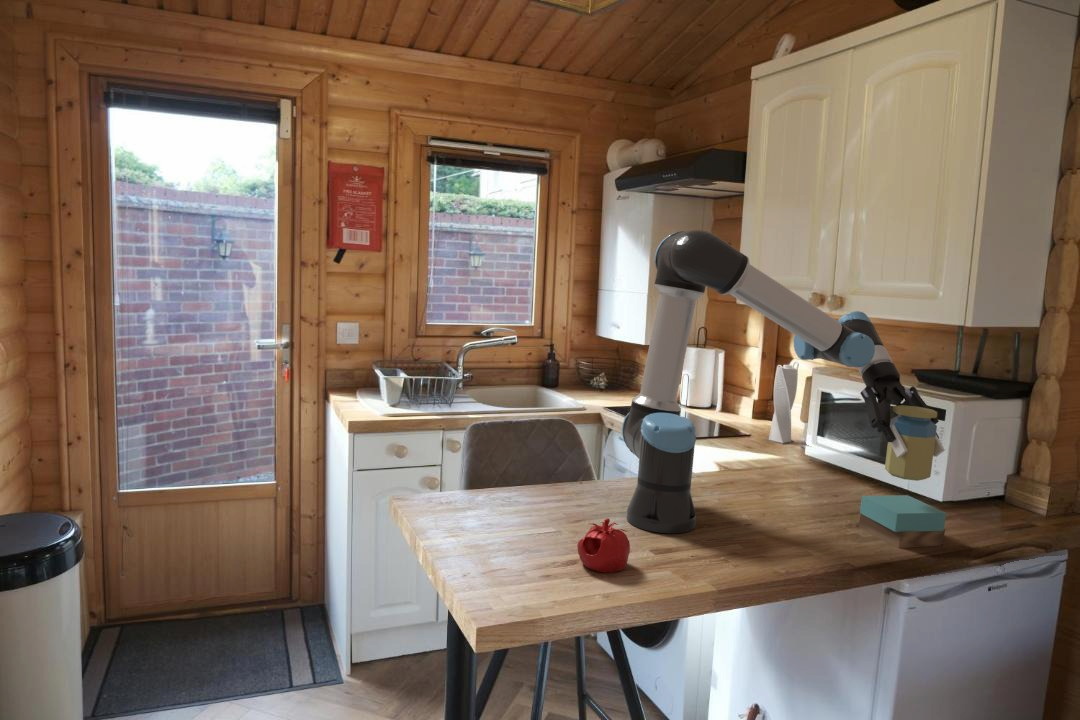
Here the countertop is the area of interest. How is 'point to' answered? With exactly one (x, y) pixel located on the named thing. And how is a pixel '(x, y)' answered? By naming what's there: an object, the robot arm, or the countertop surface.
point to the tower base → (901, 535)
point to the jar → (913, 443)
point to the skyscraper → (783, 403)
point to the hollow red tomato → (604, 548)
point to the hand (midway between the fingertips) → (921, 453)
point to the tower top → (902, 513)
